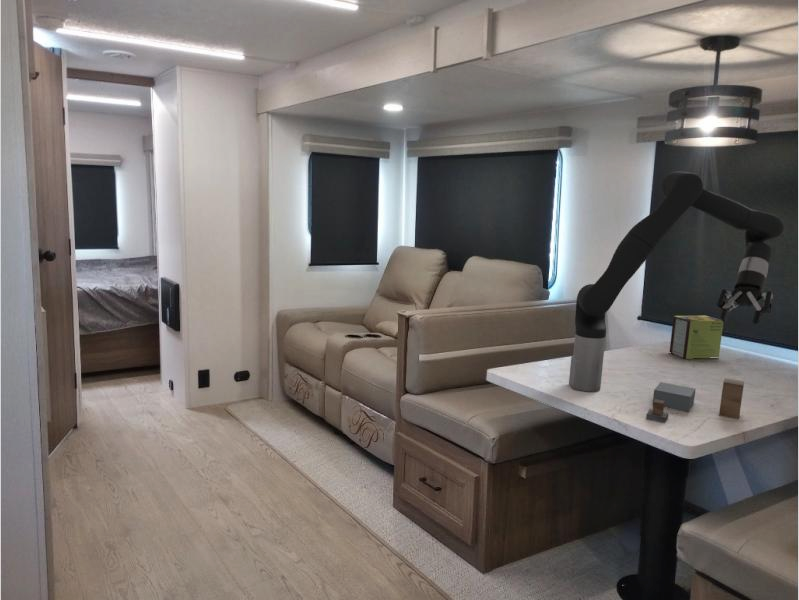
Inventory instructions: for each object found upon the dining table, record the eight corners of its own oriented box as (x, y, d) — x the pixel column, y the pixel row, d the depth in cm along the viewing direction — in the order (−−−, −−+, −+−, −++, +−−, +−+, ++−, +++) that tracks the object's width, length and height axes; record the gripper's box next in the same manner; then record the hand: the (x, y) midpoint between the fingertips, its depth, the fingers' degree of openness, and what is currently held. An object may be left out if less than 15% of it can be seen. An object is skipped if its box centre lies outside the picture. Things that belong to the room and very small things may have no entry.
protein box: (719, 358, 244) (724, 320, 242) (685, 359, 241) (690, 320, 238) (700, 352, 254) (705, 315, 252) (668, 352, 251) (672, 315, 248)
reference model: (649, 413, 176) (651, 397, 175) (668, 417, 173) (670, 400, 173) (646, 418, 172) (647, 401, 171) (665, 422, 169) (667, 405, 168)
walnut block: (720, 410, 181) (724, 378, 180) (739, 414, 179) (744, 381, 177) (718, 415, 177) (723, 382, 176) (738, 419, 175) (743, 385, 173)
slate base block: (658, 397, 193) (660, 382, 192) (693, 404, 187) (695, 388, 186) (652, 405, 184) (654, 389, 183) (688, 413, 179) (690, 396, 178)
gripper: (723, 268, 190) (709, 315, 185) (774, 269, 179) (761, 318, 175) (731, 280, 194) (718, 326, 190) (781, 282, 184) (769, 330, 179)
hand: (739, 322), depth 182 cm, fingers open, 8 cm apart
